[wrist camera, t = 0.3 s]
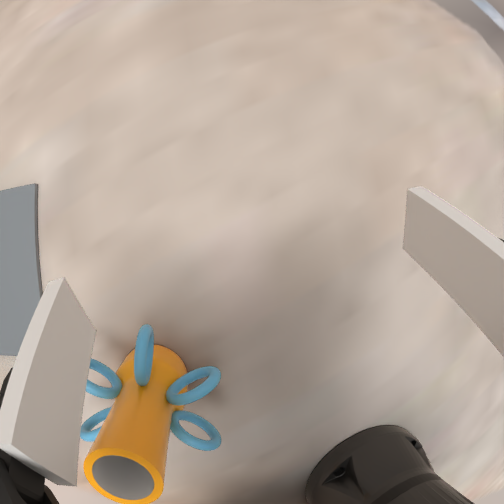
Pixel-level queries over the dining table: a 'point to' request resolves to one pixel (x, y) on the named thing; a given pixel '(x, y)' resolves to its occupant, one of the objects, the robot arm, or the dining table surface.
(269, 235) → the dining table surface
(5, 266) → the card
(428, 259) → the robot arm
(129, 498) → the orange hollow ringed part
